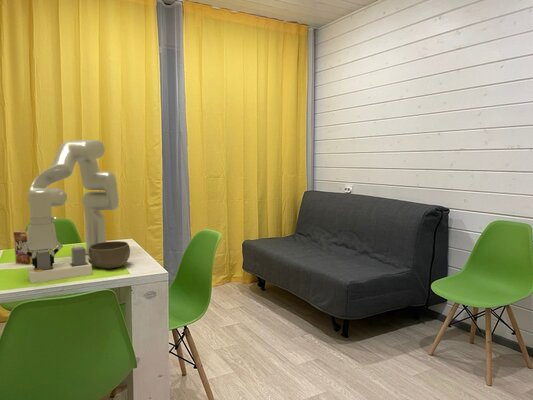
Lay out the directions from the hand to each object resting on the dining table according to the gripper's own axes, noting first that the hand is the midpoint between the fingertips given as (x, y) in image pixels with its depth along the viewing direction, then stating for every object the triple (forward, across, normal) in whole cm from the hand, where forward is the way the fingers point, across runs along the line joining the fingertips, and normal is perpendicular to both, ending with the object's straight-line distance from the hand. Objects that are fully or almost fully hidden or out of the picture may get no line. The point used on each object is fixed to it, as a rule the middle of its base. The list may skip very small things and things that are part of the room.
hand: (43, 266), depth 163 cm
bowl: (+6, -27, -7) cm, 28 cm away
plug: (+3, 0, 0) cm, 3 cm away
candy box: (+6, +4, -32) cm, 33 cm away
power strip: (+5, -6, 0) cm, 8 cm away
